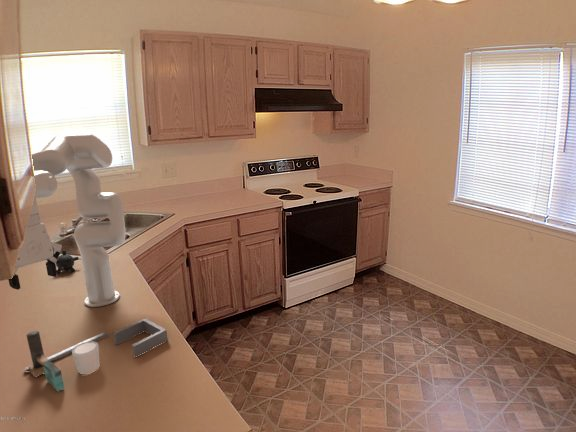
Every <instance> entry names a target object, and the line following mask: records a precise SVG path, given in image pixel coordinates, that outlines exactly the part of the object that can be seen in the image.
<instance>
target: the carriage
mask: <svg viewBox="0 0 576 432" xmlns="http://www.w3.org/2000/svg"><path fill="white" fill-rule="evenodd" d="M26 339H27V345H28V348H29V352H30V358H31V361H32V364H30V365H28V366H27V367H29V371H30V372H31V373H32V374H33V375H34V376H35V377H36V376H38V375H41V374H43V373H45V374H43V375H45V376H44V377H45V380H46V382H48V383H49V385H51V386H52V387H53V388H54V389H55V390H56V391H57V392H60V391H62V390H64V389H65V384H64V379H63V375H62V370H61V369H60V368H59V367H57V366H56V365H55V364H54V363H53V362H51V361H50V360H49V359H47V357H46V356H45V354H44V349H43V344H42V339H41V335H40V331H38V330H34V331H30V332H28V333H27V334H26ZM30 372H29V373H30ZM31 373H30V374H31ZM32 374H31V375H32ZM33 375H32V376H33ZM34 376H33V377H34ZM41 376H42V375H41ZM35 377H34V378H35ZM59 390H60V391H59Z"/></svg>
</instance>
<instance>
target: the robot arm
mask: <svg viewBox="0 0 576 432" xmlns="http://www.w3.org/2000/svg"><path fill="white" fill-rule="evenodd" d="M31 155H32V159H33V166H34V178H35V184H36V191H35V196H34V201H33V205H32V209H31V212H30V217H29V221H28V224H27V228H26V234H25V239H24V243H23V245H22V247H21V248H20V250H19V252H18V257H17V262H16V266H15V272H14V275H13V278H12V279H8V278H7V280H8V284H9V286H10V287H11V289H14V290H20V289H21V283H20V278H19V275H18V274H17V272H18V270H19V268H23V267H26V266H30V265H35V264H37V263H41V262H44V261H45V266H46V272H47V276H50V277H54V278H55V277H57V276H58V274H57V273H56V272H57V270H58V269H57V266H56V263H55V262H57V258H58V257H59V256H61V252H62V248H63V245H62V244H59V243H56V242H51V241H52V240H51V238H50V234H49V232H48V229H47V227H46V225H45V223H44V222H41V219H40V213H39V206H38V202H37V199H40V198H48V197H50V196H52V195H54V193H55V192H56V190H57V188H58V181H57V178H56V177H55V176H57V175H60V174H62V173H64V172H65V171H66V170H67V171H68V172H69V175H71V177H72V179H73V181H74V186H75V198H76V199H75V200H76V210H77V214H78V216H79V217H80V218H82V219H86V220H87V219H106V218H107V219H108V220H109V221H108V220H107V221H92V222H91V221H88V222H83V223H80V224H79V225H77V226H76V227H75V229H74V232H73V233H74V234H73V236H74V241H75V243H76V245H77V248H78V251H79V254H80V259H81V265H82V269H83V274H84V281H85V282H84V283H85V285H86V291H87V292H86V293H87V296H86V297H85V299H84V306H87V307H91V308H97V307H98V308H99V307H104V306H105V307H106V306H108V305H110V304H113V303H115V302H116V301H118V300H119V299H120V293H119V291H117V290H115V285H114V279H113V273H112V272H113V271H112V268H111V266H112V265H111V261H110V255H109V253H108V252H107V250H106V249H105V247H106V248H107V247H118V246H122V245H123V244H124V243H125V240H126V222H125V210H124V202H123V199H122V196H121V195H120V194H119V193H117V192H103V191H102V188H101V179H100V177H99V176H98V174H97V173H96V172H95V171H94V170H96V169H106V168H109V167H110V166H111V164H112V162H113V154H112V150H111V149H110V147H108V145H107V144H106V143H105V142H103V141H102V140H101V139H100V138H99V137H97V136H96V135H93V134H92V133H89V132H80V133H79V132H78V133H77V132H76V133H61V134H58V135H56V136H55V137H53V138H52V139H51V140H50V141H49V142H48V144H47V145H46V146H44V147H43V149H42V150H40V151H37V152H35V153H32V154H31Z"/></svg>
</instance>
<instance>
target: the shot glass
mask: <svg viewBox="0 0 576 432" xmlns="http://www.w3.org/2000/svg"><path fill="white" fill-rule="evenodd" d="M80 343H81V342H80ZM78 344H79V343H78ZM99 347H100V346H99V343H98V341H96V342H93V341H90V342H85V343H81V344H79V345H77V346H76V347H74V349H73V350H72V353H71V355H72V357H73V360H74V363H75V367H76V369H77V372H79V373H80V374H88V373H92V372H94V371H96V370H97V369H98V368H99V367H100V368H101V365H100V348H99ZM100 368H99V369H100ZM99 369H98V370H99ZM98 370H97V371H98ZM97 371H96V372H97ZM79 373H78V374H79ZM80 374H79V375H80Z"/></svg>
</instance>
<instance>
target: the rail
mask: <svg viewBox="0 0 576 432" xmlns="http://www.w3.org/2000/svg"><path fill="white" fill-rule="evenodd" d="M107 337H109V334H108V332H106V331H103V332H101V333H98V334H97V335H94V336H92V337H90V338H88V339H85V340H83V341H81V342H79V343H75V345H72V346H69V347H68V348H66V349H63V350H61V351H59V352H57V353H54V354H52V355H50V356H48V357H46V358H47V359H49V360H50V361H53V360H55V361H56V359H57V360H59V359H62V358H63V356H64V357H65V355H66V356H68V355H70V354H72V353H71V352H72V350H73V349H74V347H76V346H77V345H79V344H81V343H85V342H90V341H93V342H98V341H101V340H102V339H105V338H107ZM69 353H70V354H69ZM58 358H59V359H58ZM53 362H54V361H53ZM24 371H29V367H28V366H26V367H24V368H23V372H24Z"/></svg>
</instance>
